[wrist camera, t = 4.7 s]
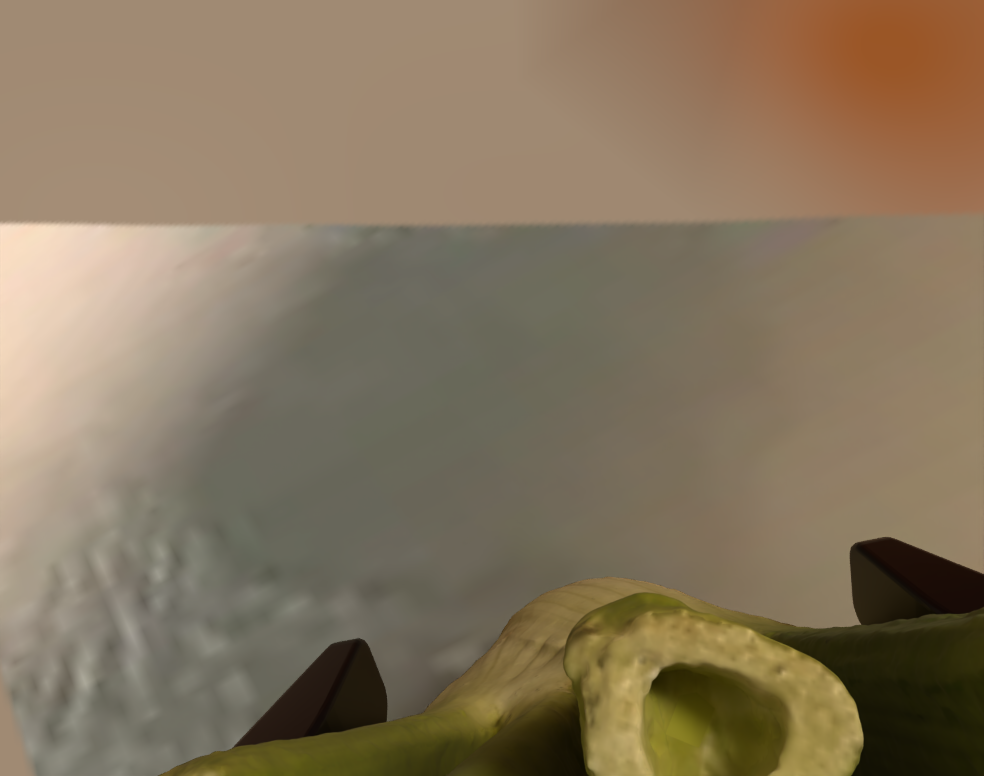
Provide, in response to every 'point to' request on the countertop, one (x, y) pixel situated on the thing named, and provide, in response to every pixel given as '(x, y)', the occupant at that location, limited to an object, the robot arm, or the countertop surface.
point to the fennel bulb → (672, 699)
